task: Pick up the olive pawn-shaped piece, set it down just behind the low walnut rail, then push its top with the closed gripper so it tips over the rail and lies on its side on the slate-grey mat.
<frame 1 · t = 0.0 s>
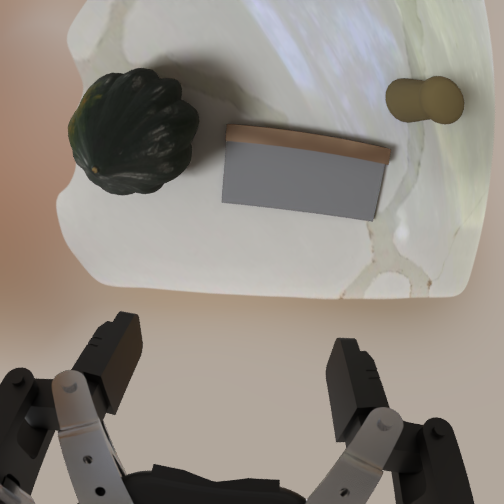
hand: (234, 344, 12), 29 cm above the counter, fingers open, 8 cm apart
slate mat: (304, 179, 38), on the counter
olive pawn-shaped piece: (405, 100, 33), on the counter
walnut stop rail: (309, 140, 36), on the counter
squash: (151, 128, 36), on the counter
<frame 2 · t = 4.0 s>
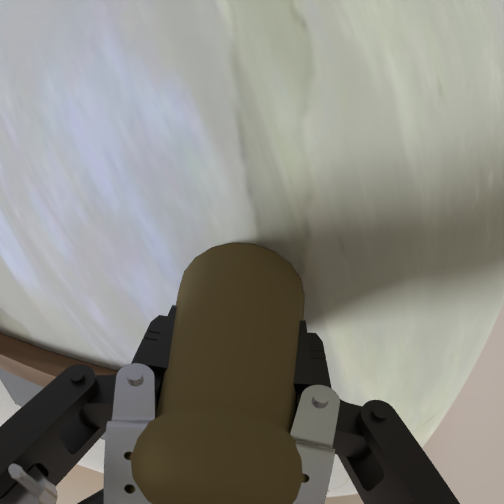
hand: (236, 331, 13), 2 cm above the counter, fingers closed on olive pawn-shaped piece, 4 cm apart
slate mat: (84, 405, 20), on the counter
olive pawn-shaped piece: (241, 298, 15), on the counter, touching gripper
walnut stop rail: (67, 365, 18), on the counter
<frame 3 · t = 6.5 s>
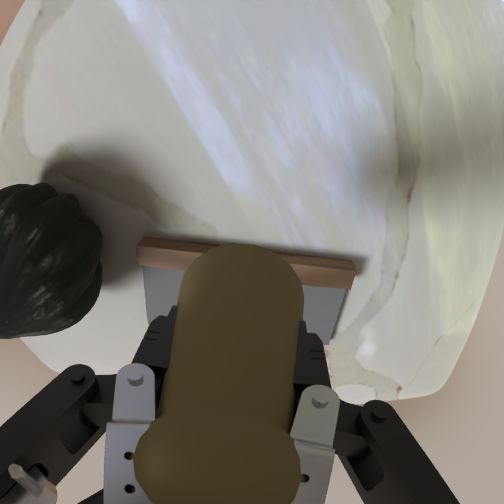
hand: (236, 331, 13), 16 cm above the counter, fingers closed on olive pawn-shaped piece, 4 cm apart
slate mat: (241, 302, 31), on the counter
olive pawn-shaped piece: (241, 299, 15), point 14 cm above the counter, touching gripper
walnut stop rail: (246, 258, 29), on the counter
squash: (65, 235, 29), on the counter
when the fingers open (4 cm above the counter, at t = 9.1 s): olive pawn-shaped piece drops 1 cm, on the counter.
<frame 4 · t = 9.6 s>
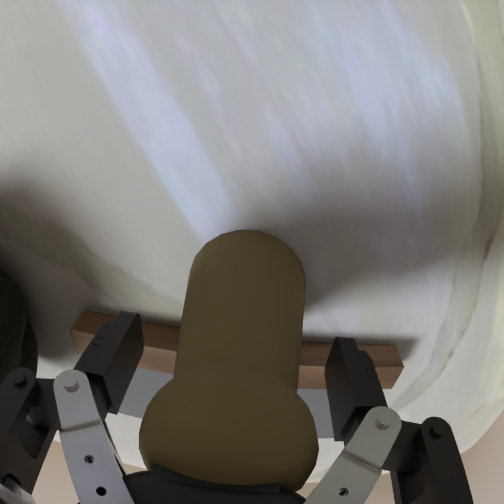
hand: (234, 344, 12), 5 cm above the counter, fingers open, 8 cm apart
slate mat: (231, 397, 20), on the counter
olive pawn-shaped piece: (247, 282, 16), on the counter
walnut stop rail: (236, 347, 18), on the counter
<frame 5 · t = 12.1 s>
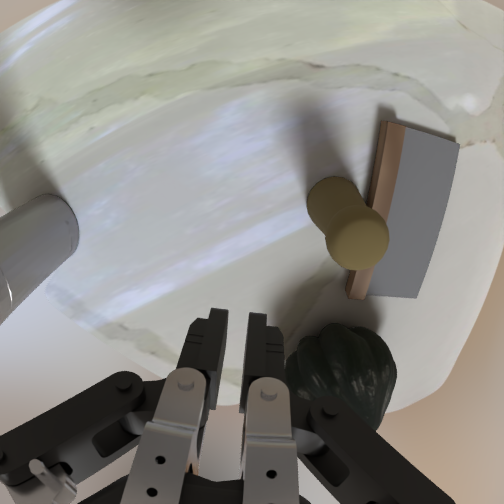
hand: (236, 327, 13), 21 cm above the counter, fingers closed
slate mat: (411, 218, 32), on the counter
olive pawn-shaped piece: (334, 203, 32), on the counter
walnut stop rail: (373, 212, 32), on the counter
squash: (332, 349, 41), on the counter
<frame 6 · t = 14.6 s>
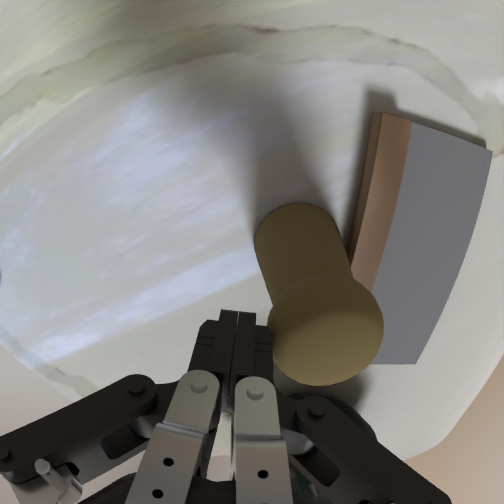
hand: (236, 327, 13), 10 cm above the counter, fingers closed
slate mat: (416, 262, 21), on the counter
olive pawn-shaped piece: (297, 243, 21), on the counter, touching gripper
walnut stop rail: (358, 254, 21), on the counter
squash: (302, 416, 30), on the counter
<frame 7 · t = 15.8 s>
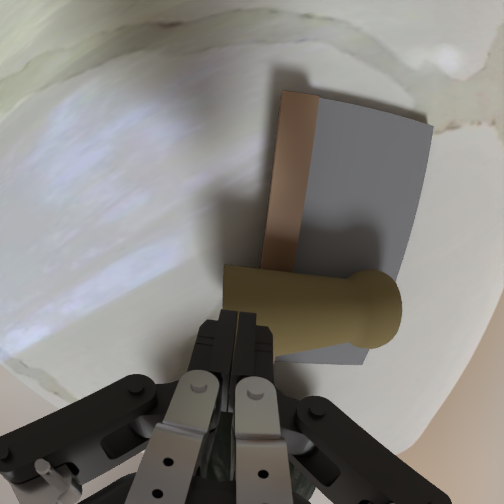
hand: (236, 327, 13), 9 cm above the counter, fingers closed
slate mat: (347, 253, 21), on the counter
olive pawn-shaped piece: (222, 313, 19), point 4 cm above the counter, touching slate mat, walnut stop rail
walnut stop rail: (277, 245, 21), on the counter
squash: (249, 414, 30), on the counter
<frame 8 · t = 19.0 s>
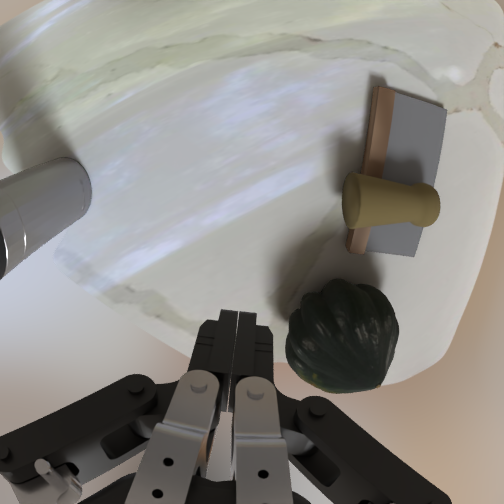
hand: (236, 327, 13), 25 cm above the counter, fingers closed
slate mat: (405, 177, 34), on the counter
olive pawn-shaped piece: (349, 200, 31), point 4 cm above the counter, touching slate mat, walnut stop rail
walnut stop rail: (369, 170, 34), on the counter
squash: (335, 309, 43), on the counter
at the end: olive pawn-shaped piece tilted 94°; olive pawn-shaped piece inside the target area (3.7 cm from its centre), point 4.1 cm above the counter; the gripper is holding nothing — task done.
